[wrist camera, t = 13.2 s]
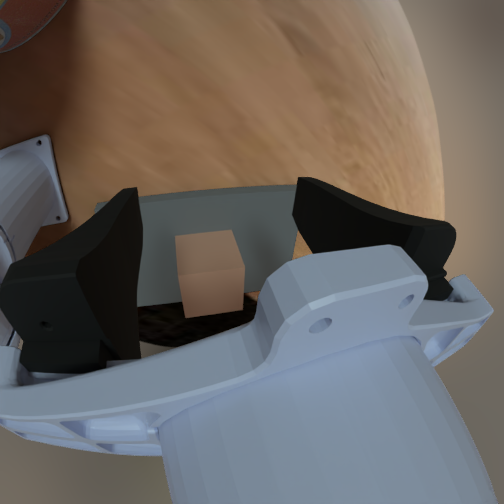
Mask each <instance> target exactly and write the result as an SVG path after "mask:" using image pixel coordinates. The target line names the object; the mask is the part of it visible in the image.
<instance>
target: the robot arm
mask: <svg viewBox="0 0 504 504" xmlns="http://www.w3.org/2000/svg"><path fill="white" fill-rule="evenodd" d="M39 140H40V141H41V142H42V144H41V145H40V144H39V143H38V141H39ZM57 216H59V217H60V218H61V219H59V218H58V217H57ZM292 216H293V219H294V221H295V224H296V226H297V228H298V230H299V232H300V234H301V235H302V237H303V239H304V240H305V242H306V243H307V245H308V247H309V248H310V250H311V251H312V253H313V254H310V255H306V256H303V257H300V258H297V259H294V260H291V261H288V262H286V263H285V264H283V265H282V266H281V267H280V268H279V269H277V270H276V271H275V272H274V273H272V274H271V275H270V276H269V277H268V278H267V279H266V281H265V283H264V285H263V287H262V289H261V291H260V293H259V295H258V303H257V310H256V314H255V317H254V319H253V320H252V321H251V322H249V323H247V324H244V325H241V326H238V327H236V328H233V329H230V330H227V331H225V332H222V333H219V334H216V335H213V336H210V337H208V338H205V339H202V340H199V341H196V342H193V343H190V344H187V345H184V346H181V347H177V348H174V349H171V350H168V351H165V352H162V353H158V354H155V355H152V356H149V357H145V358H141V352H140V342H139V331H138V313H137V288H138V279H139V271H140V263H141V256H142V249H143V223H142V217H141V211H140V204H139V198H138V190H137V187H134V188H127V189H123V190H121V191H120V192H119V193H118V194H116V195H115V196H114V197H113V198H112V199H111V200H110V201H109V202H108V203H107V204H106V205H105V206H103V207H102V208H101V209H100V210H99V211H98V212H97V213H95V214H94V215H93V216H92V217H91V218H90V219H89V220H87V221H86V222H85V223H84V224H82V225H81V226H79V227H78V228H77V229H75V230H74V231H73V232H71V233H70V234H68V235H66V236H65V237H63V238H62V239H60V240H58V241H57V242H55V243H53V244H52V245H50V246H48V247H46V248H44V249H42V250H40V251H38V252H36V253H34V254H32V255H30V256H28V257H25V255H26V253H27V251H28V249H29V247H30V245H31V243H32V241H33V240H34V238H35V236H36V234H37V232H38V231H39V229H40V227H41V226H46V225H51V224H57V223H62V222H66V221H67V220H68V217H69V216H68V212H67V208H66V205H65V201H64V198H63V194H62V190H61V186H60V182H59V178H58V174H57V169H56V165H55V160H54V155H53V150H52V144H51V139H50V136H49V135H42V136H39V137H35V138H32V139H29V140H26V141H23V142H20V143H18V144H15V145H12V146H9V147H7V148H4V149H2V150H0V425H1V426H3V427H4V428H6V429H8V430H9V431H11V432H13V433H15V434H16V435H18V436H20V437H22V438H24V439H28V440H32V441H37V442H41V443H46V444H51V445H56V446H62V447H67V448H73V449H79V450H86V451H93V452H100V453H109V454H121V455H137V456H163V461H164V467H165V472H166V477H167V482H168V486H169V491H170V494H171V499H172V503H173V504H499V503H498V501H497V499H496V497H495V494H494V490H493V487H492V484H491V481H490V479H489V476H488V474H487V471H486V469H485V466H484V464H483V462H482V459H481V457H480V455H479V452H478V450H477V448H476V446H475V444H474V441H473V439H472V437H471V435H470V433H469V431H468V429H467V427H466V425H465V423H464V421H463V419H462V417H461V415H460V413H459V411H458V410H457V408H456V406H455V404H454V402H453V400H452V398H451V397H450V395H449V393H448V391H447V390H446V388H445V386H444V384H443V383H442V381H441V379H440V377H439V376H438V374H437V372H436V371H435V369H434V367H435V366H436V365H438V364H439V363H440V362H442V361H443V360H444V359H446V358H448V357H449V356H450V355H452V354H453V353H455V352H456V351H458V350H459V349H460V348H462V347H463V346H465V345H466V344H467V342H468V341H469V340H470V339H471V338H472V337H473V336H474V335H475V334H476V332H477V331H478V330H479V329H480V328H481V327H482V325H483V324H484V323H485V322H486V321H487V319H488V318H489V317H490V316H491V314H492V313H493V309H492V307H491V306H490V304H489V303H488V302H487V300H486V299H485V298H484V297H483V295H482V294H481V293H480V292H479V291H478V289H477V288H476V287H475V286H474V285H473V284H472V282H471V281H470V280H469V279H468V278H467V276H466V275H464V274H462V275H460V276H457V277H454V278H452V279H451V280H450V281H449V282H448V281H447V280H446V279H445V278H444V277H445V276H446V275H447V272H446V271H445V270H444V269H443V266H444V264H445V263H446V261H447V259H448V257H449V255H450V253H451V252H452V249H453V247H454V245H455V241H456V230H455V228H454V227H453V226H452V225H450V223H448V222H445V221H440V220H434V219H428V218H422V217H418V216H414V215H409V214H405V213H402V212H398V211H395V210H392V209H388V208H385V207H382V206H380V205H377V204H374V203H371V202H369V201H366V200H364V199H362V198H359V197H357V196H355V195H352V194H350V193H348V192H346V191H344V190H341V189H339V188H337V187H335V186H333V185H330V184H328V183H326V182H323V181H321V180H318V179H315V178H311V177H298V181H297V187H296V193H295V199H294V205H293V211H292ZM24 257H25V258H24ZM20 339H22V340H23V341H24V342H23V346H22V350H20V349H19V348H18V346H19V343H20Z"/></svg>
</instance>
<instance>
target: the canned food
mask: <svg viewBox="0 0 504 504" xmlns="http://www.w3.org/2000/svg"><path fill="white" fill-rule="evenodd" d="M66 2H67V0H0V53H3V52H7V51H10V50H12V49H14V48H16V47H18V46H20V45H22V44H23V43H25V42H27V41H28V40H29V39H31V38H32V37H34V36H35V35H36V34H37V33H38V32H40V31H41V30H42V29H43V28H44V27H45V26H46V25H47V24H48V23H49V22H50V21H51V20H52V19H53V18H54V17H55V16H56V14H57V13H58V12H59V11H60V10H61V8H62V7H63V6H64V4H65V3H66Z"/></svg>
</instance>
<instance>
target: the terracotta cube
mask: <svg viewBox="0 0 504 504" xmlns="http://www.w3.org/2000/svg"><path fill="white" fill-rule="evenodd" d="M175 244H176V258H177V271H178V279H179V285H180V291H181V296H182V302H183V307H184V312H185V317H186V318H189V317H196V316H204V315H211V314H218V313H224V312H231V311H237V310H243V295H244V278H245V265H244V263H243V260H242V257H241V254H240V252H239V249H238V246H237V243H236V240H235V238H234V235H233V232H232V230H223V231H214V232H205V233H196V234H187V235H178V236H175Z"/></svg>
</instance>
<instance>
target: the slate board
mask: <svg viewBox="0 0 504 504" xmlns="http://www.w3.org/2000/svg"><path fill="white" fill-rule="evenodd" d="M296 187H297V185H273V186H253V187H237V188H222V189H210V190H198V191H188V192H178V193H169V194H160V195H151V196H143V197H138V198H139V204H140V211H141V217H142V223H143V249H142V256H141V263H140V271H139V279H138V288H137V307H138V306H147V305H156V304H165V303H174V302H182V296H181V291H180V285H179V279H178V271H177V258H176V244H175V236H178V235H187V234H196V233H205V232H214V231H223V230H232V232H233V235H234V238H235V240H236V243H237V246H238V249H239V252H240V254H241V257H242V260H243V263H244V265H245V278H244V293H248V292H254V291H261V289H262V287H263V285H264V283H265V281H266V279H267V278H268V277H269V276H270V275H271V274H272V273H274V272H275V271H276V270H277V269H279V268H280V267H281V266H282V265H283V264H285V263H286V262H288V261H291V260H292V257H293V252H294V247H295V241H296V236H297V231H298V228H297V226H296V224H295V221H294V219H293V216H292V211H293V205H294V199H295V193H296ZM108 202H109V201H108ZM108 202H102V203H97V205H96V208H95V210H94V211H95V213H97V212H98V211H99V210H100V209H101V208H102V207H103V206H105V205H106V204H107V203H108Z"/></svg>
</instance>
